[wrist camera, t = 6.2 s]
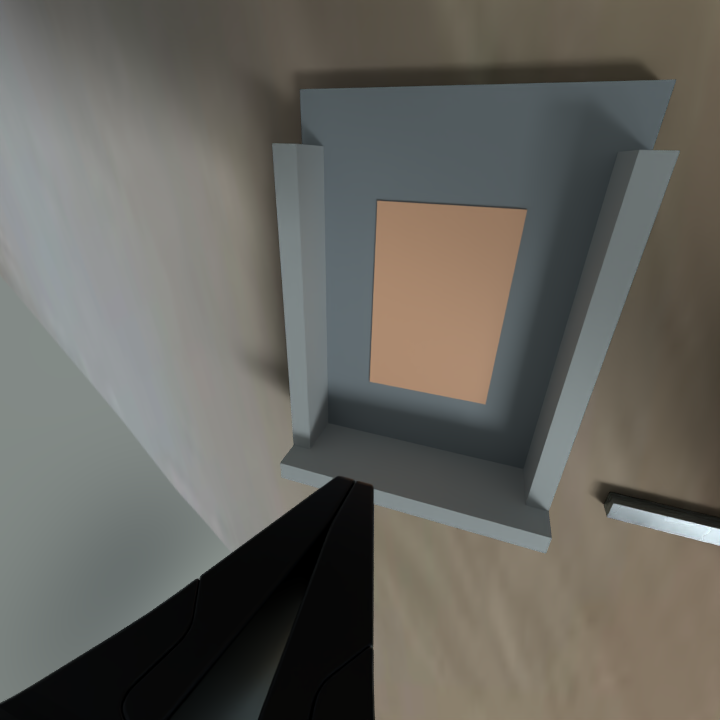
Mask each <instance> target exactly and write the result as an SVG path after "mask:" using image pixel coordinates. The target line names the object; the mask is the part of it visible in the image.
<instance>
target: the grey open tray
mask: <svg viewBox="0 0 720 720" xmlns="http://www.w3.org/2000/svg"><path fill="white" fill-rule="evenodd" d="M675 82H676V80H641V81H602V82H563V83H525V84H486V85H447V86H408V87H369V88H330V89H300V105H301V130H302V144H280V143H272V149H273V163H274V177H275V191H276V205H277V219H278V233H279V247H280V261H281V274H282V288H283V302H284V316H285V330H286V344H287V358H288V372H289V386H290V400H291V413H292V427H293V441H294V445H293V447H292V448H291V449H290V451H289V452H288V453H287V455H286V456H285V457H284V459H283V460H282V461H281V463H280V466H281V476H282V478H286V479H289V480H292V481H296V482H299V483H303V484H306V485H310V486H313V487H317V488H321V487H322V486H324V485H325V484H326V483H328V482H329V481H330V480H332V479H333V478H335V477H336V476H344V477H348V478H351V479H354V480H355V482H356V481H362V482H366V483H370V484H372V485H373V486H374V504H376V505H379V506H383V507H386V508H390V509H393V510H397V511H400V512H404V513H407V514H411V515H414V516H417V517H421V518H424V519H428V520H431V521H435V522H438V523H442V524H445V525H449V526H452V527H456V528H459V529H463V530H466V531H470V532H473V533H477V534H480V535H483V536H487V537H490V538H494V539H497V540H501V541H504V542H508V543H511V544H515V545H518V546H522V547H525V548H529V549H532V550H536V551H539V552H542V553H546V552H547V549H548V547H549V544H550V541H551V539H552V536H551V528H550V519H549V508H550V506H551V503H552V500H553V497H554V495H555V492H556V489H557V487H558V484H559V481H560V478H561V476H562V473H563V470H564V467H565V465H566V462H567V459H568V456H569V454H570V451H571V448H572V445H573V443H574V440H575V437H576V435H577V432H578V429H579V426H580V424H581V421H582V418H583V415H584V413H585V410H586V407H587V404H588V402H589V399H590V396H591V393H592V391H593V388H594V385H595V383H596V380H597V377H598V374H599V372H600V369H601V366H602V363H603V361H604V358H605V355H606V352H607V350H608V347H609V344H610V341H611V339H612V336H613V333H614V330H615V328H616V325H617V322H618V320H619V317H620V314H621V311H622V309H623V306H624V303H625V300H626V298H627V295H628V292H629V289H630V287H631V284H632V281H633V278H634V276H635V273H636V270H637V268H638V265H639V262H640V259H641V257H642V254H643V251H644V248H645V246H646V243H647V240H648V237H649V235H650V232H651V229H652V226H653V224H654V221H655V218H656V215H657V213H658V210H659V207H660V205H661V202H662V199H663V196H664V194H665V191H666V188H667V185H668V183H669V180H670V177H671V174H672V172H673V169H674V166H675V163H676V161H677V158H678V155H679V153H680V151H674V150H653V147H654V144H655V142H656V139H657V136H658V133H659V130H660V127H661V124H662V121H663V118H664V115H665V112H666V109H667V106H668V103H669V100H670V97H671V94H672V91H673V88H674V85H675Z"/></svg>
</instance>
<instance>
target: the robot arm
mask: <svg viewBox="0 0 720 720" xmlns="http://www.w3.org/2000/svg"><path fill="white" fill-rule="evenodd" d="M373 619H374V486H373V485H372V484H370V483H366V482H362V481H356V482H355V480H354V479H351V478H348V477H344V476H336V477H335V478H333V479H332V480H330V481H329V482H328V483H326V484H325V485H324V486H322V487H321V488H320V489H318V490H317V491H315V492H314V493H313V494H311V495H310V496H309V497H307V498H306V499H305V500H303V501H302V502H300V503H299V504H298V505H296V506H295V507H294V508H292V509H291V510H290V511H288V512H287V513H285V514H284V515H283V516H281V517H280V518H279V519H277V520H276V521H275V522H273V523H272V524H270V525H269V526H268V527H266V528H265V529H264V530H262V531H261V532H260V533H258V534H257V535H255V536H254V537H253V538H251V539H250V540H249V541H247V542H246V543H245V544H243V545H242V546H240V547H239V548H238V549H236V550H235V551H234V552H232V553H231V554H230V555H228V556H227V557H226V558H224V559H223V560H221V561H220V562H219V563H217V564H216V565H215V566H213V567H212V568H211V569H209V570H208V571H206V572H205V573H204V574H202V575H201V576H200V580H199V579H195V580H194V581H192V582H191V583H190V584H188V585H187V586H186V587H185V588H183V589H182V590H180V591H179V592H177V593H176V594H175V595H173V596H172V597H170V598H169V599H168V600H166V601H165V602H163V603H162V604H160V605H159V606H157V607H156V608H155V609H153V610H152V611H150V612H149V613H147V614H146V615H144V616H143V617H141V618H140V619H138V620H136V621H135V622H133V623H132V624H130V625H129V626H127V627H126V628H124V629H122V630H121V631H119V632H118V633H116V634H115V635H113V636H111V637H110V638H108V639H107V640H105V641H103V642H102V643H100V644H99V645H97V646H95V647H93V648H92V649H90V650H89V651H87V652H85V653H84V654H82V655H80V656H79V657H77V658H76V659H74V660H72V661H71V662H69V663H68V664H66V665H64V666H63V667H61V668H59V669H58V670H56V671H55V672H53V673H51V674H50V675H48V676H46V677H45V678H43V679H42V680H40V681H38V682H37V683H35V684H33V685H32V686H30V687H28V688H27V689H25V690H24V691H21V692H20V693H18V694H16V695H15V696H13V697H11V698H9V699H7V700H5V701H3V702H1V703H0V720H375V710H374V650H373Z"/></svg>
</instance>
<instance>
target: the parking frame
mask: <svg viewBox="0 0 720 720" xmlns="http://www.w3.org/2000/svg"><path fill="white" fill-rule="evenodd" d="M604 508H605V512H606V515H607V517H609V518H612V519H616V520H620V521H624V522H628V523H632V524H636V525H640V526H644V527H648V528H652V529H656V530H660V531H664V532H668V533H672V534H676V535H680V536H683V537H687V538H691V539H695V540H699V541H703V542H707V543H711V544H715V545H719V546H720V518H718V517H714V516H709V515H705V514H701V513H697V512H693V511H688V510H684V509H680V508H676V507H671V506H667V505H663V504H659V503H655V502H650V501H646V500H642V499H638V498H633V497H629V496H625V495H621V494H617V493H612V492H610V493H609V495H608V497H607V499H606V502H605V504H604Z"/></svg>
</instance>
